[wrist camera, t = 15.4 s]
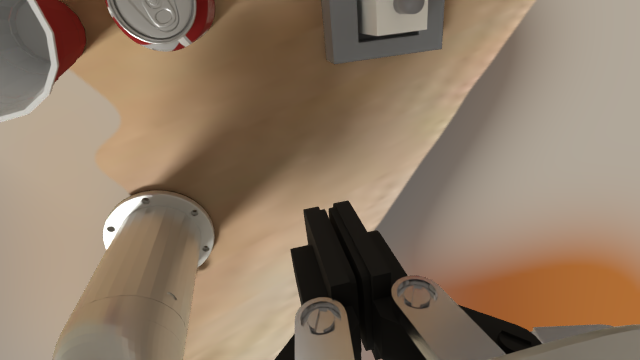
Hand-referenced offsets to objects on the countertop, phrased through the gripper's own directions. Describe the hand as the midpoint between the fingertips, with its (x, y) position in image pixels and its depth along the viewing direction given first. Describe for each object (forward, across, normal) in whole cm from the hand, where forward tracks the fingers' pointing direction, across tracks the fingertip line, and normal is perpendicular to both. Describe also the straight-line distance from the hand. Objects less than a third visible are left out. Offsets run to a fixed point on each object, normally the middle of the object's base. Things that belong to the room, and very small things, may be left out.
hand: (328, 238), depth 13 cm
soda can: (+29, +7, -9) cm, 31 cm away
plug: (+28, -13, -7) cm, 32 cm away
